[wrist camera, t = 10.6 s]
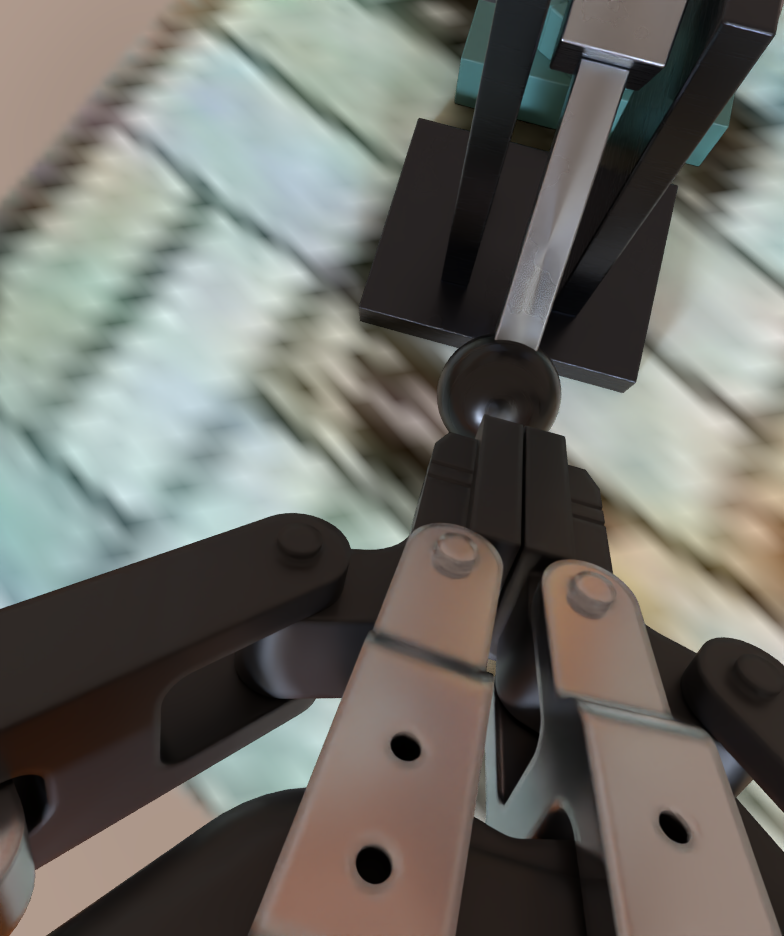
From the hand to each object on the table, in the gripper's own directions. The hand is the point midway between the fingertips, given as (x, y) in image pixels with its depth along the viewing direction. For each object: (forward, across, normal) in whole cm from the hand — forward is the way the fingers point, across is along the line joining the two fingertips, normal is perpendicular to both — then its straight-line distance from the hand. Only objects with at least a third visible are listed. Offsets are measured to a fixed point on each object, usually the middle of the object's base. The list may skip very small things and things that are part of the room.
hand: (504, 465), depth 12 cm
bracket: (+15, 0, 0) cm, 15 cm away
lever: (+8, 0, -3) cm, 8 cm away
